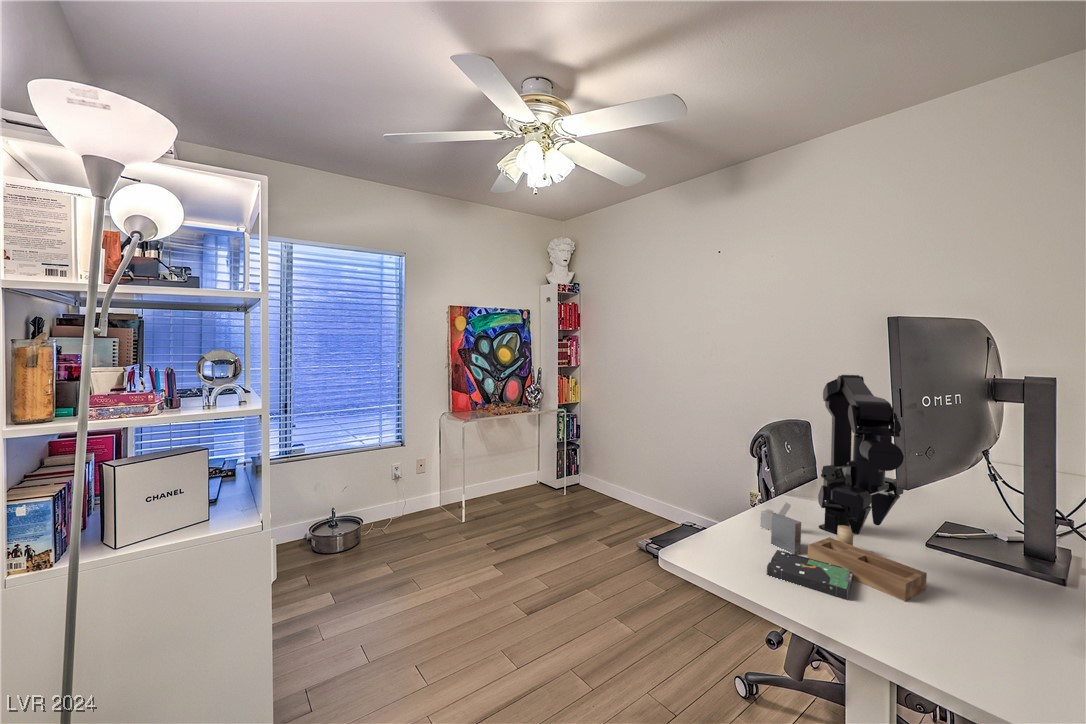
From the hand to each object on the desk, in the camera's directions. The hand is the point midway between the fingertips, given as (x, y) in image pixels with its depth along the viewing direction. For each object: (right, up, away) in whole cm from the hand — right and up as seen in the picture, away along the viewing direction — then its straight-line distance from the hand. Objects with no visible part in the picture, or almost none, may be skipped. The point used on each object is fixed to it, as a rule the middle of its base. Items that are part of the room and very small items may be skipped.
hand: (866, 529), depth 96 cm
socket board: (0, -10, +1) cm, 10 cm away
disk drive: (-13, -11, -1) cm, 17 cm away
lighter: (-7, -10, +24) cm, 27 cm away
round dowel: (+3, -10, +11) cm, 15 cm away
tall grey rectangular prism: (-10, -10, +13) cm, 19 cm away
